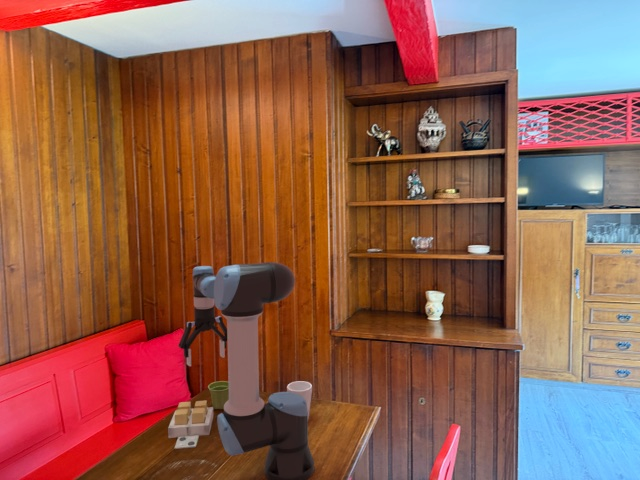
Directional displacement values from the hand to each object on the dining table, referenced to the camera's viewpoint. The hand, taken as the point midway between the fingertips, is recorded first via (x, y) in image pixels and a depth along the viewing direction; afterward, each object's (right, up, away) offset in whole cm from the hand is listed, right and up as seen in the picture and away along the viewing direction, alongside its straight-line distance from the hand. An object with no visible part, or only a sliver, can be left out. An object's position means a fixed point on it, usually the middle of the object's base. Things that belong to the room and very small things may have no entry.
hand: (206, 361), depth 167 cm
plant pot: (+4, -21, +9) cm, 23 cm away
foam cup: (+36, -22, -3) cm, 42 cm away
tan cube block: (-7, -19, -5) cm, 21 cm away
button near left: (-6, -19, -10) cm, 23 cm away
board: (-3, -22, -7) cm, 24 cm away
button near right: (0, -19, -10) cm, 22 cm away
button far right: (-1, -19, -4) cm, 19 cm away
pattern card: (-2, -23, -18) cm, 29 cm away
